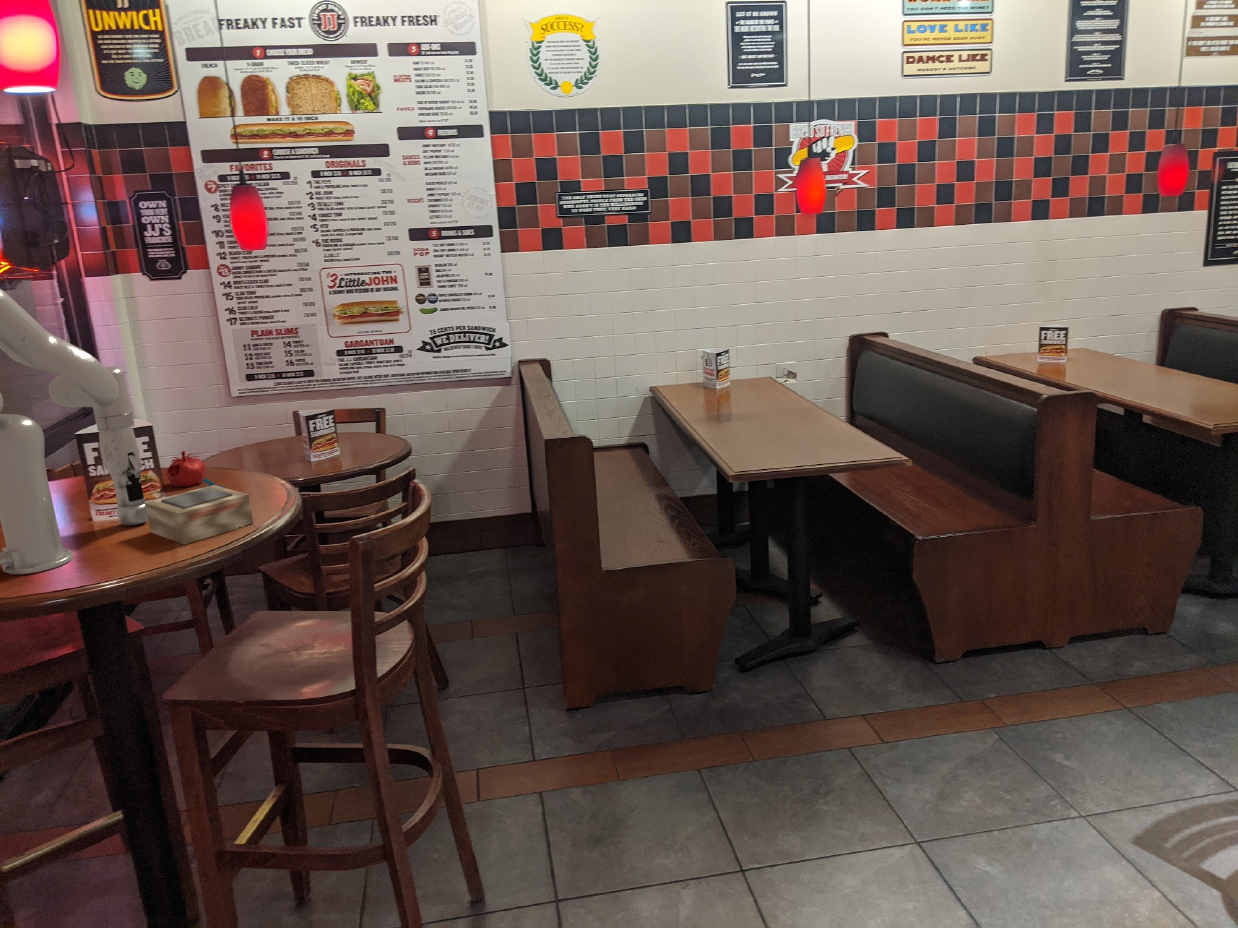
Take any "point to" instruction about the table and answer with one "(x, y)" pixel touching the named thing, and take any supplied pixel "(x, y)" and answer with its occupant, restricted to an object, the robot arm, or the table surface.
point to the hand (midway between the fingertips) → (130, 497)
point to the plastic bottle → (127, 510)
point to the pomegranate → (186, 471)
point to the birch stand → (199, 514)
